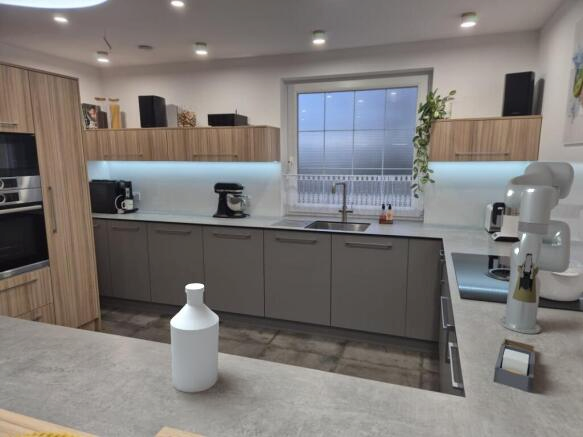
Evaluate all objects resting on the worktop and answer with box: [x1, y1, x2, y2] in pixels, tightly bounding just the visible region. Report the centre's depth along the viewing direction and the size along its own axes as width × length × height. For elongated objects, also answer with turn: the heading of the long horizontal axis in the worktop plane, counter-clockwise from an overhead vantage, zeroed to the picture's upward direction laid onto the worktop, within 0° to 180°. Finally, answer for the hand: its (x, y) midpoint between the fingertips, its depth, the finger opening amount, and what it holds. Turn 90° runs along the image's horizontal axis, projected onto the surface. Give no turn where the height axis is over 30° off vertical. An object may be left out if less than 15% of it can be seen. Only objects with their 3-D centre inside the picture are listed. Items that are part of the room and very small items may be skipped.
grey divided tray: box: [493, 343, 536, 394], centre depth 103 cm, size 17×9×4 cm, turn 145°
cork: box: [512, 264, 540, 303], centre depth 109 cm, size 6×6×11 cm
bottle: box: [170, 283, 220, 393], centre depth 94 cm, size 12×12×25 cm
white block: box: [502, 349, 529, 376], centre depth 99 cm, size 6×6×7 cm
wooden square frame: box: [502, 338, 536, 352], centre depth 114 cm, size 8×8×2 cm
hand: (525, 288), depth 110 cm, fingers closed on cork, 3 cm apart
